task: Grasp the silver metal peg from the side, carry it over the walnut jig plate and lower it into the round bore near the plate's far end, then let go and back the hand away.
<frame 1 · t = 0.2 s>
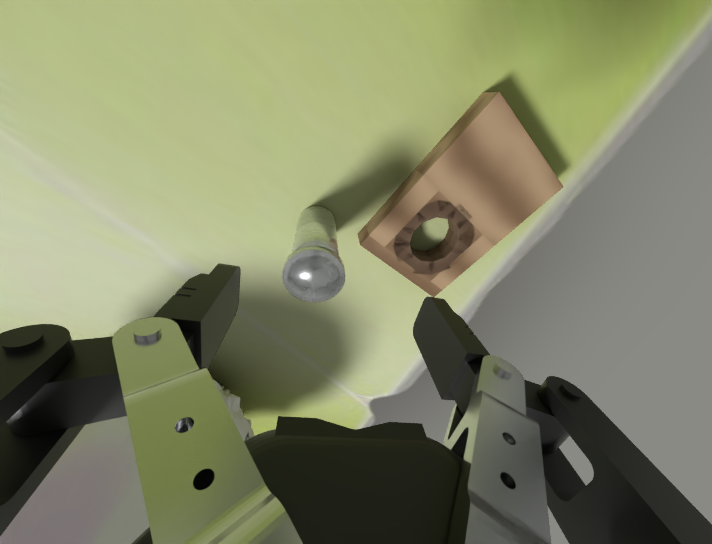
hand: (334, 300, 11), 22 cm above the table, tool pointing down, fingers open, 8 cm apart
jig: (449, 207, 33), on the table
silver metal peg: (317, 223, 33), on the table
sculpture: (183, 391, 48), on the table
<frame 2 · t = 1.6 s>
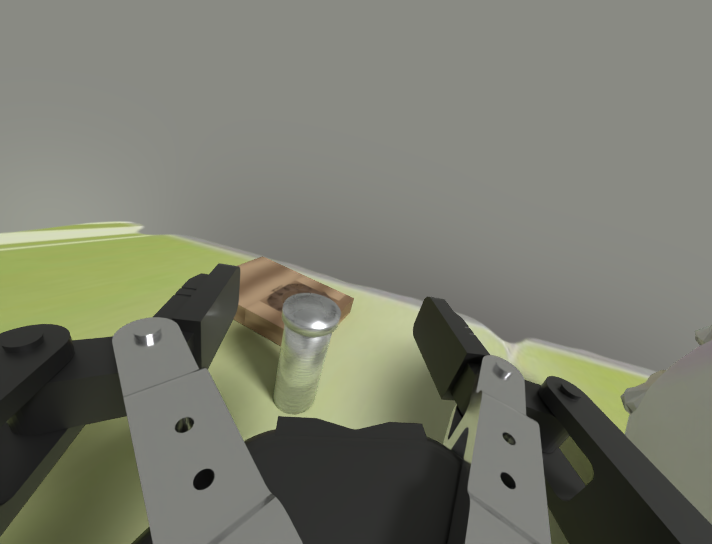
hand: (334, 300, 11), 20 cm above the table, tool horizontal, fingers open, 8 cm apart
jig: (278, 305, 43), on the table
silver metal peg: (294, 394, 30), on the table
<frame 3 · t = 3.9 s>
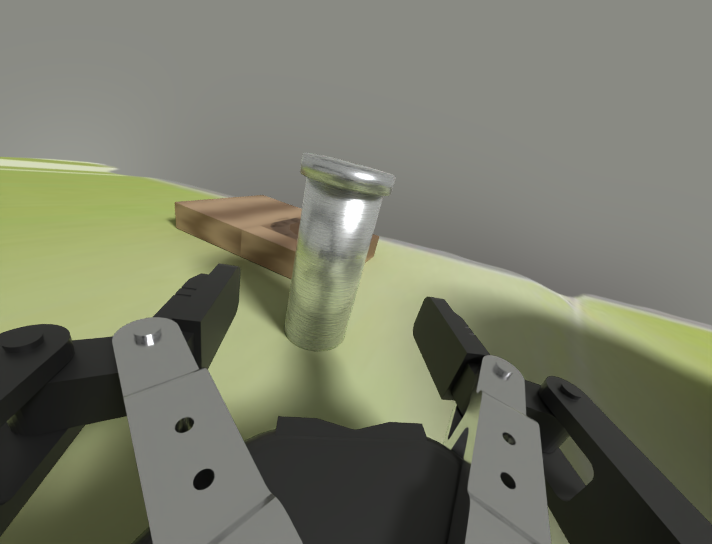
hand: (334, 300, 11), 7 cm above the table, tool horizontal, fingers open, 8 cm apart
jig: (284, 243, 34), on the table
silver metal peg: (315, 329, 20), on the table
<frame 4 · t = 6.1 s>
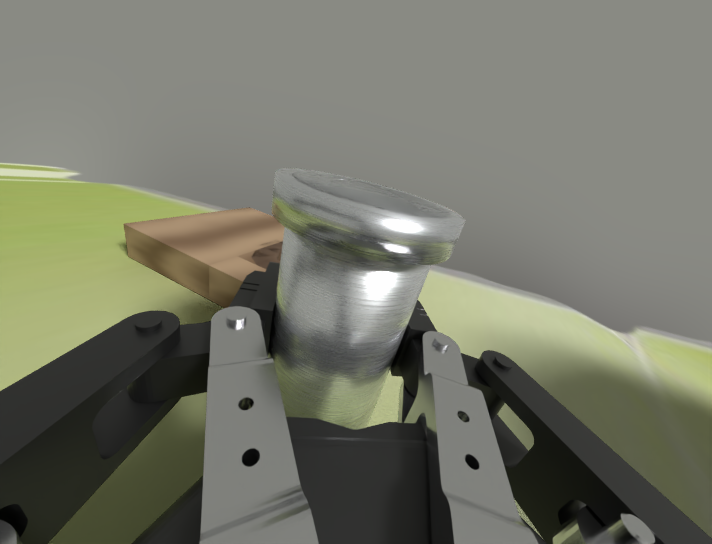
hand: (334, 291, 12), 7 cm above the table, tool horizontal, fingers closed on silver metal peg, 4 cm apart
jig: (273, 273, 26), on the table
silver metal peg: (307, 443, 13), on the table, touching gripper
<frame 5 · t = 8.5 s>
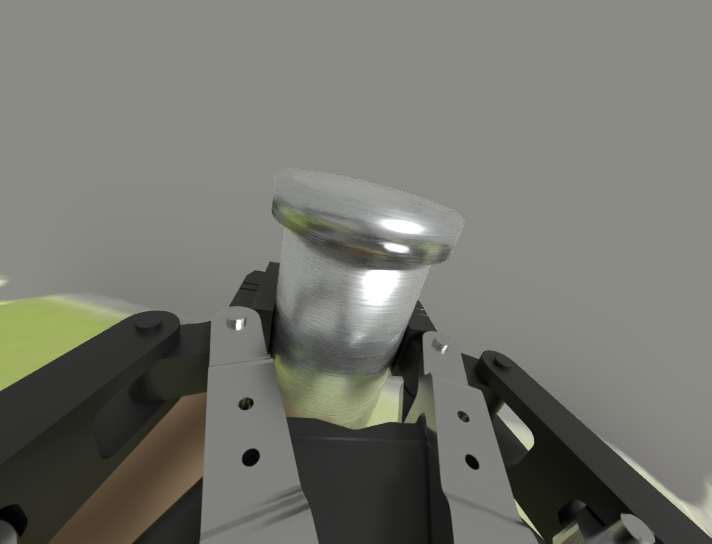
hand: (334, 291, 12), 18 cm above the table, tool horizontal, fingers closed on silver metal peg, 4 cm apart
jig: (236, 497, 19), on the table
silver metal peg: (307, 443, 13), point 11 cm above the table, touching gripper
when the fingers open (9 cm above the table, at t = 11.1 s): silver metal peg drops 2 cm, resting in jig.
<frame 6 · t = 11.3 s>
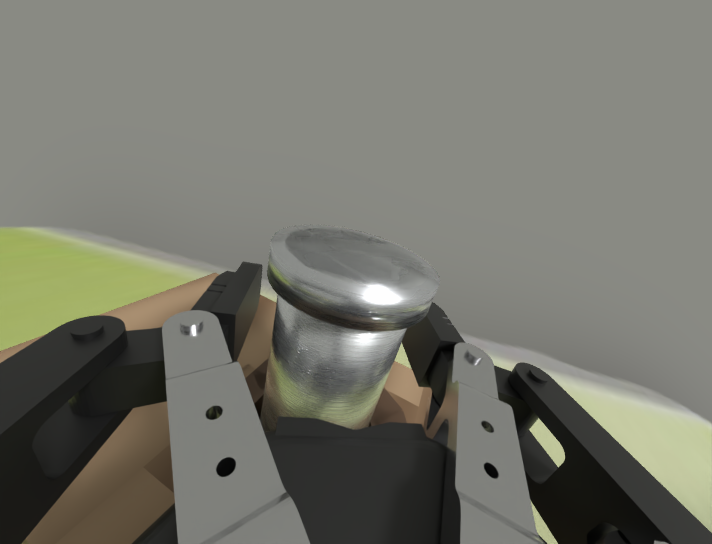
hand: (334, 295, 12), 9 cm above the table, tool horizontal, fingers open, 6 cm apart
jig: (240, 425, 15), on the table
silver metal peg: (300, 469, 13), resting in jig
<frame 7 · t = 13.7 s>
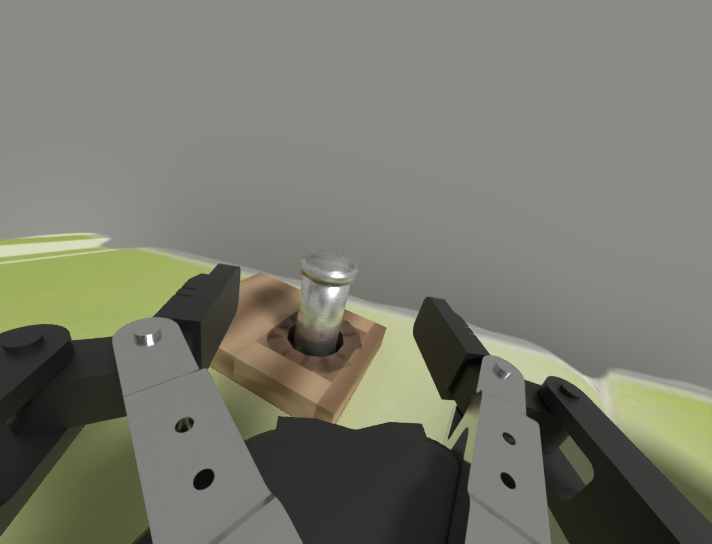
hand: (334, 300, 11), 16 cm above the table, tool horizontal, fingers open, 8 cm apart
jig: (283, 342, 31), on the table
silver metal peg: (312, 358, 30), resting in jig
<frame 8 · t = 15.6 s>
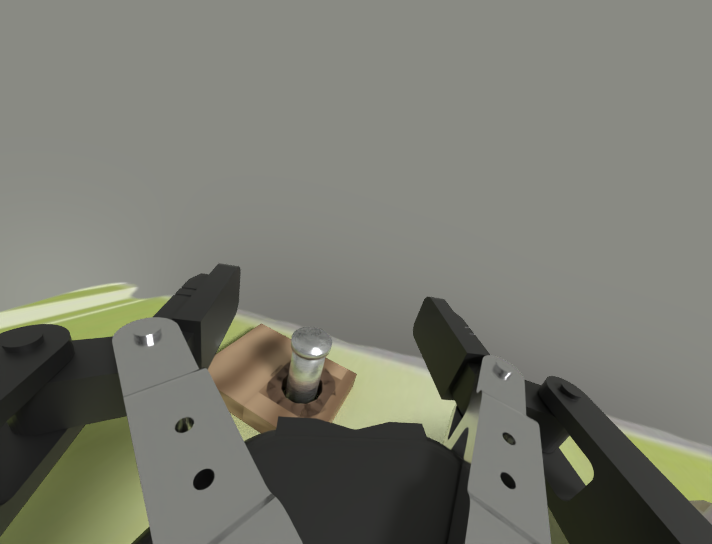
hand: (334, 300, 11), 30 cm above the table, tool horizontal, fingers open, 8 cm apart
jig: (278, 386, 41), on the table
silver metal peg: (299, 399, 40), resting in jig
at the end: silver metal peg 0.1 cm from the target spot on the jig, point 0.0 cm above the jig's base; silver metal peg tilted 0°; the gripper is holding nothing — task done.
